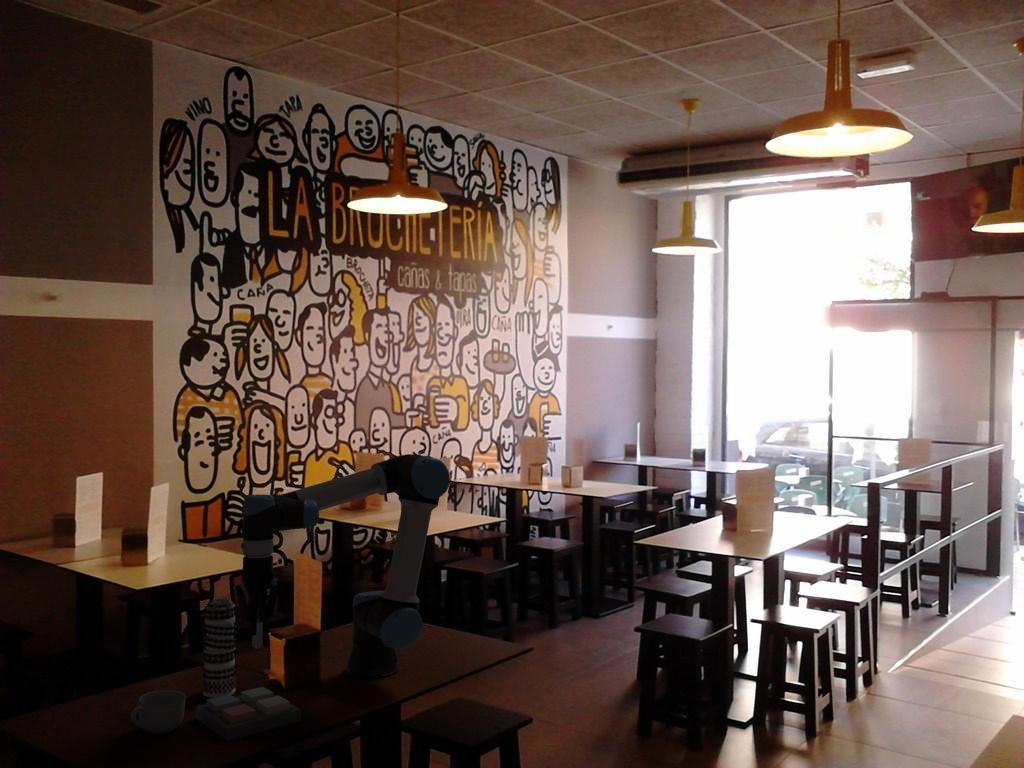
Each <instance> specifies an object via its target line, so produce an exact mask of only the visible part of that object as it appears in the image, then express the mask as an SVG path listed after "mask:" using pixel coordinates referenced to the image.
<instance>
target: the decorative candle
mask: <svg viewBox="0 0 1024 768" xmlns="http://www.w3.org/2000/svg"><path fill="white" fill-rule="evenodd" d="M236 606H237V605H236V604H235V603H234V602H233V601H232V600H231V599H230V598H215V599H212V600H210V601H209V602H208V604H207V605H205V606H204V608H205V617H204V620H203V621H202V622H201V623H202V624H201V625H202V627H201V629H202V630H201V631H202V632H203V634H202V644H203V645H204V646H203V647H202V650H203V652H204V653H205V657H204V659H205V660H204V667H203V668H202V669H203V670H202V671H203V672H204V673H202V676H203V678H204V679H203V680H202V685H203V686H202V689H203V691H202V692H203V693H202V694H203V695H202V696H205V697H207V698H210V699H212V697H213V698H216V697H220V696H225V695H229V694H230V695H233V694H234V692H236V685H237V684H236V681H237V678H236V676H235V675H236V673H237V672H236V670H235V669H237V665H236V664H235V663H236V662H235V650H236V649H237V643H235V642H237V641H238V640H237V639H238V638H236V637H235V636H236V635H237V634H238V631H237V630H236V629H238V625H237V624H235V623H236V616H235V607H236Z"/></svg>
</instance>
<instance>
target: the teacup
mask: <svg viewBox="0 0 1024 768" xmlns="http://www.w3.org/2000/svg"><path fill="white" fill-rule="evenodd" d="M186 699H187V695H186V693H185V692H182V691H179V690H173V689H172V690H171V689H170V690H168V689H164V690H163V689H162V690H161V689H160V690H155V691H154V690H153V691H149V692H146V693H144V694H142V695H140V697H139V698H138V705H137V706H135V707H134V708H133V709H132V711H131V713H130V721H131V722H132V724H134V725H136V726H138V727H140V728H141V730H145V732H147V733H149V734H153V735H162V734H163V733H164V734H168V733H171V732H173V731H174V730H175V729H176V728H178V727H179V726H180V725H181V724H182V723H183V720H184V717H185V711H186V710H185V709H186ZM137 715H138V719H137ZM170 731H171V732H170ZM167 732H168V733H167ZM164 734H163V735H164Z"/></svg>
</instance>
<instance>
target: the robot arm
mask: <svg viewBox="0 0 1024 768" xmlns="http://www.w3.org/2000/svg"><path fill="white" fill-rule="evenodd" d="M450 477H451V476H450V472H449V469H448V467H447V466H446V464H445V463H444V462H443V461H442V460H441V459H439V458H437V457H433V456H430V455H418V454H412V453H411V454H410V453H407V454H401V455H397V456H394V457H392V458H388V459H386V460H383V461H380V462H376V463H373V464H371V467H370V468H368V469H364V470H360V471H358V472H354V473H350V474H347V475H343V476H341V477H337V478H333V479H331V480H327V481H323V482H320V483H317V484H312V485H309V486H307V487H302V488H299V489H295V490H292V491H290V492H289V491H288V492H285V493H282V494H278V493H277V494H276V493H274V494H265V493H264V494H250V495H247V496H246V497H245V498H244V499H243V504H242V505H243V506H242V509H243V510H242V532H243V535H242V554H243V555H244V556H243V557H242V576H241V577H240V581H239V582H238V583H237V584H233V585H232V590H233V591H234V593H235V594H236V598H237V603H238V608H239V611H240V612H239V613H240V616H241V620H242V621H244V622H247V623H249V624H248V625H249V627H248V628H249V629H248V633H249V635H250V636H251V637H252V638H251V642H252V643H251V647H253V648H255V649H257V650H259V649H262V648H263V646H264V645H263V643H264V642H263V640H264V639H263V636H264V634H265V633H266V630H267V628H266V626H267V622H268V621H269V619H270V618H271V619H272V618H273V617H274V613H275V608H276V605H277V600H278V595H279V590H280V588H281V586H282V584H283V580H282V579H280V578H277V577H275V574H274V572H273V571H274V570H273V569H274V556H273V555H272V554H273V553H274V532H275V531H277V532H278V531H286V530H301V529H303V530H306V529H309V528H314V527H316V526H317V524H318V522H319V520H320V519H319V518H320V511H324V510H326V509H327V510H328V509H329V508H333V507H336V506H341V505H343V504H347V503H350V502H353V501H356V500H360V499H363V498H367V497H370V496H373V495H375V494H378V495H381V496H384V495H385V496H386V495H387V494H393V493H395V494H396V493H398V497H397V498H398V501H399V502H400V504H401V510H400V516H399V521H398V526H397V532H396V537H395V542H394V546H393V551H392V558H391V562H390V568H389V571H388V572H389V573H388V577H387V582H386V588H385V590H373V591H372V590H371V591H365V592H360V593H356V594H355V595H354V596H353V599H352V608H351V609H352V645H351V649H350V653H349V656H348V658H347V662H346V670H347V671H346V673H347V672H348V673H349V674H351V675H354V676H358V677H357V678H360V677H377V676H382V675H385V674H389V673H391V672H393V671H395V670H396V669H397V668H398V669H399V661H398V660H399V659H398V657H397V653H396V650H397V649H398V650H402V649H405V648H409V647H410V646H411V645H413V644H414V643H415V642H416V641H418V639H419V638H420V636H421V633H422V631H423V624H424V623H423V619H422V617H421V615H420V612H419V608H420V599H419V597H418V596H417V590H418V584H419V579H420V573H421V569H422V563H423V558H424V554H425V553H424V552H425V548H426V543H427V537H428V532H429V526H430V521H431V518H432V517H431V515H432V512H433V510H434V509H436V508H438V507H439V503H440V499H441V497H443V496H444V495H445V493H447V491H448V489H449V488H450V484H451V483H450V481H451V478H450ZM269 587H270V588H269ZM245 588H246V589H247V595H248V603H247V599H246V598H247V597H246V593H245ZM268 588H269V590H268ZM268 591H269V593H268ZM395 649H396V650H395ZM348 673H347V674H348ZM349 674H348V675H349ZM351 675H350V676H351ZM354 676H353V677H354Z"/></svg>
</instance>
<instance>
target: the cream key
mask: <svg viewBox="0 0 1024 768" xmlns="http://www.w3.org/2000/svg"><path fill="white" fill-rule="evenodd" d="M290 704H291V702H290V701H289V700H288V699H286V698H284V697H282V696H280V695H276V696H275V697H271V698H267V699H262V700H258V701H256V710H258V711H259V712H261V713H263V714H264V715H266V716H268V715H271V714H275V713H279V712H283V711H287V710H290Z"/></svg>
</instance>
